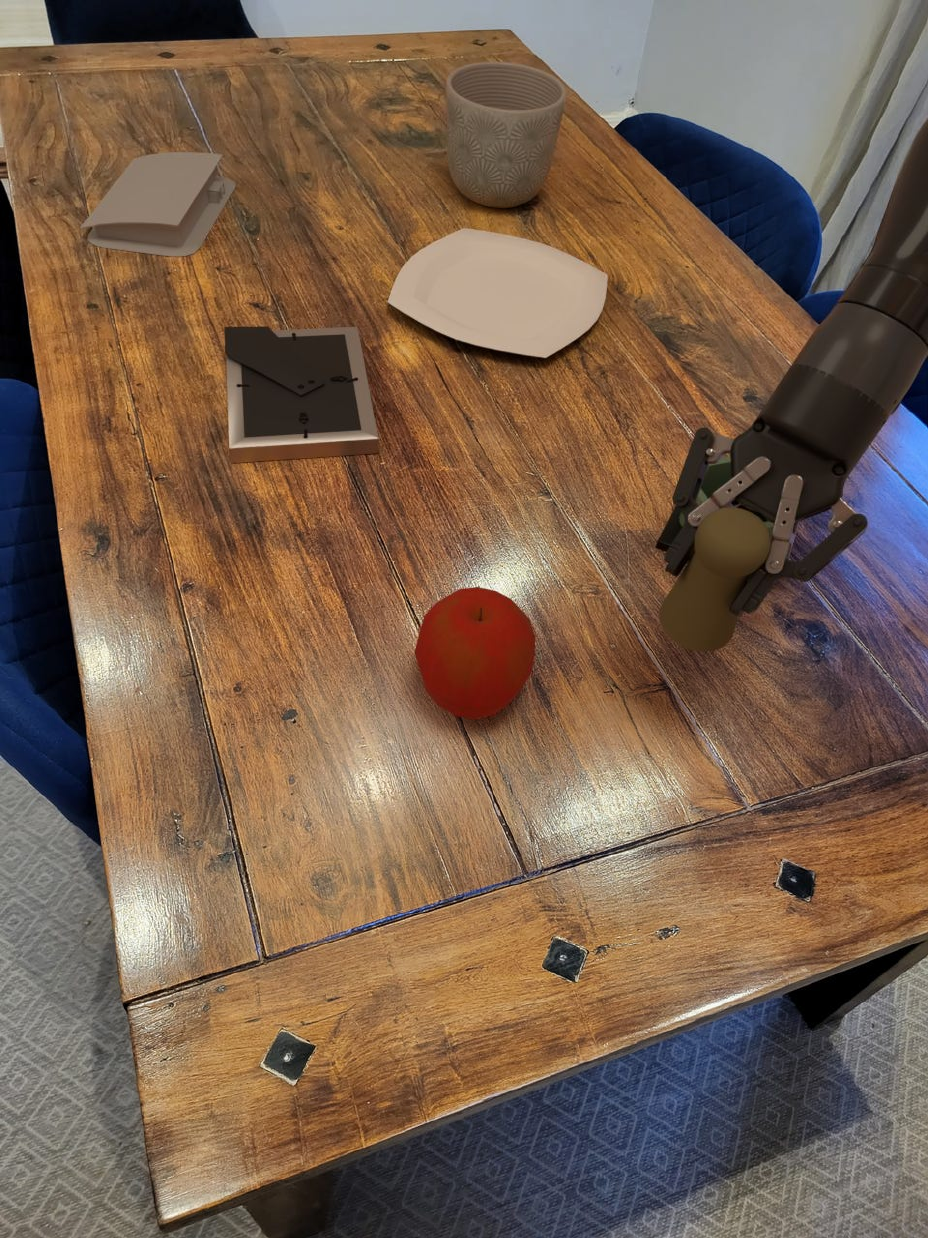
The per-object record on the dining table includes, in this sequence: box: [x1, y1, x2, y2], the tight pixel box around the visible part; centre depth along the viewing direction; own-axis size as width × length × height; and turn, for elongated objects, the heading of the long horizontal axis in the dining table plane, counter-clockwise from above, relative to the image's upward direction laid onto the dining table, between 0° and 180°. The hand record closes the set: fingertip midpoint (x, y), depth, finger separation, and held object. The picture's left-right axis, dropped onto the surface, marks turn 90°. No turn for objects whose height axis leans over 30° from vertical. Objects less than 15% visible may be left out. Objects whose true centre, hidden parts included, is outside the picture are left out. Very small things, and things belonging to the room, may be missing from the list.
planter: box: [445, 61, 568, 209], centre depth 128 cm, size 17×17×15 cm
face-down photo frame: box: [224, 325, 380, 464], centre depth 100 cm, size 16×3×21 cm
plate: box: [387, 227, 609, 360], centre depth 115 cm, size 27×27×2 cm
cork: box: [658, 507, 771, 653], centre depth 65 cm, size 6×6×11 cm
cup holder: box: [655, 456, 774, 580], centre depth 90 cm, size 12×12×6 cm
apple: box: [413, 586, 536, 720], centre depth 73 cm, size 10×10×12 cm
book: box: [79, 151, 236, 258], centre depth 122 cm, size 15×23×4 cm, turn 173°
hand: (702, 592), depth 64 cm, fingers closed on cork, 5 cm apart
